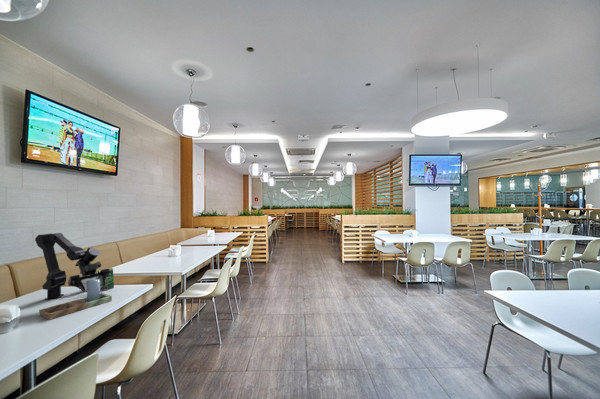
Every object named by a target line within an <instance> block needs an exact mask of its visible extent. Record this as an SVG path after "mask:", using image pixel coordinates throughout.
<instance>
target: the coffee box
mask: <svg viewBox="0 0 600 399" xmlns="http://www.w3.org/2000/svg"><path fill="white" fill-rule="evenodd" d="M108 269H110V273H109V275H108V277H106V278H105V286H104V287H103V285H102V283H101V281H100V292H103V291H106V290H110V289H114V287H115V283H114V282H115V278H114V268H113V267H110V268H108ZM101 270H102V269H100V270H97V273H100V271H101ZM97 279H100V278H99V276H98V277H97Z"/></svg>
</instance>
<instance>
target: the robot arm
mask: <svg viewBox="0 0 600 399" xmlns="http://www.w3.org/2000/svg"><path fill="white" fill-rule="evenodd" d="M34 241H35V243H36V245H37V247H38V248H40V249H41V250H42V253H43V257H44V261H45V264H46V268H47V272H48V273H47V275H46V278H45V280H46V281H45V282H44V283H43V285H42V289H43V290H44V291H45V290H47V292H46V297H45V298H44V300H45V301H47V300H55V299H59V298H60V297H61V298H62V297H63V296H65V294H64V293H63V294H62V287H63V286H65V285H66V281H67V275H66V271H65V270H61V269H60V265H59V262H58V259H57V253H56V251H55V248H54V247H55V244H57V245H58V246H59V247H60V248H61V249H62V250H64V251H65V252H66V258H68V260H70V261H72V262H73V261H76V263H75V264H74V265H75V267H78V268H79V273H80V274H81V275H80V274H76V275H75V274H74V275H70V276H69V279H68V281H67V284H68V287H75V288H76V289H79V290H80V291H82V292H86V291H85V287H84V285H83V283H82V280H84V279H89V278H93V277H97V278H98V276H99V278H100V281H101V283H102V285H103V287H104V286H105V278H106V277H108V275H109V273H110V269H109V268H103V269H100V270H101V271H100V270H99V271H100V273H98V270H96V269H99V268H101V267H102V263H101V261H97V262H95V263H92V262H93V261H95V260H96V259H97V257H99V255H100V254H101V252H100V250H99V249H97V248H94V247H93V246H89V247H88V248H87V250H85V249H83V248H82V247H79V246H77V245H74V244H73V243H72V242H71V241H70V240H69V239H67V237H65V235H64V234H63V233H62V232H58V233H57V232H56V233H43V234H38V235H36V237H35V239H34ZM77 260H78V261H77ZM96 271H97V273H95V272H96Z"/></svg>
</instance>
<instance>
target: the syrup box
mask: <svg viewBox="0 0 600 399" xmlns="http://www.w3.org/2000/svg"><path fill="white" fill-rule="evenodd" d="M96 270H97V269H96ZM95 273H98V270H97V271H96V272H95ZM93 279H98V277H93V278H89V279H84V280H82V283H83V285H84V287H85V292H87V281H89V280H93Z"/></svg>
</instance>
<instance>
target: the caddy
mask: <svg viewBox="0 0 600 399" xmlns="http://www.w3.org/2000/svg"><path fill="white" fill-rule="evenodd" d="M100 295H101V299H98V300H95V301H91V302H88V303H87V296H85V297H81V298H78V299H73V300H70V301H68V302H64V303H61V304H60V303H59V304H56V305H52V306H50V307H46V308H42V309H39V310H38V315H39V316H40V317H42V318H44V319H45V320H47V321H49V320H52V319H56V318H59V317H62V316H66V315H69V314H71V313H75V312H79V311H82V310H86V309H88V308H92V307H96V306H98V305H102V304H105V303H107V302H111V301H113V296H112V295H109V294H106V293H104V292H100Z"/></svg>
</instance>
